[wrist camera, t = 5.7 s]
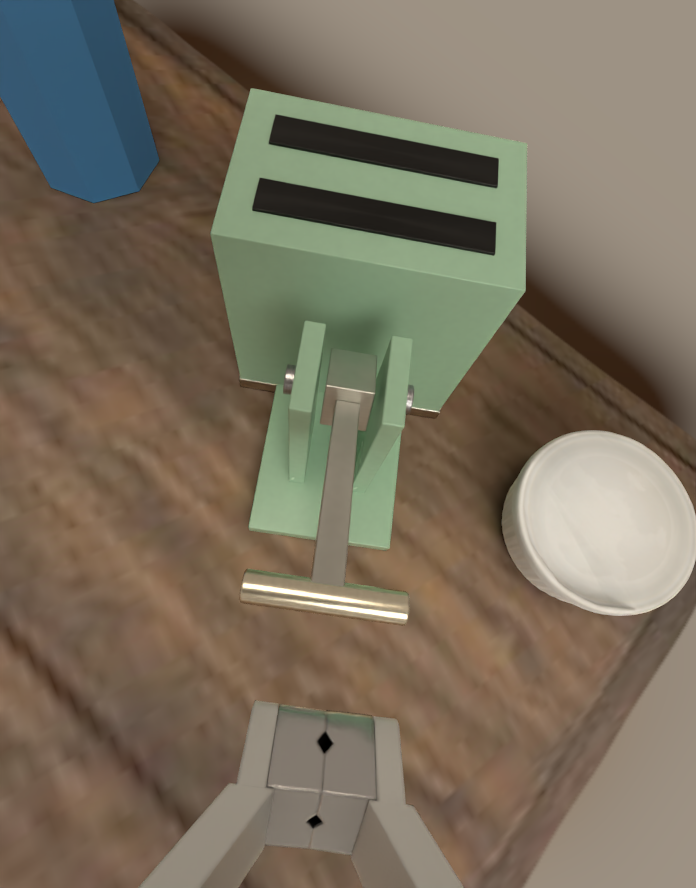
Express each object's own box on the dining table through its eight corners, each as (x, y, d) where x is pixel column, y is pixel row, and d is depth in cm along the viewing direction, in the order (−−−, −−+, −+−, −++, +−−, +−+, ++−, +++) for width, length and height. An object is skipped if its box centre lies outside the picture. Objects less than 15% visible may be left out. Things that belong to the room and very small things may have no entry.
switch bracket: (386, 550, 33) (445, 510, 20) (249, 530, 32) (223, 476, 20) (401, 399, 36) (460, 286, 24) (279, 378, 36) (273, 252, 23)
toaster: (435, 418, 36) (529, 291, 22) (240, 386, 35) (206, 232, 21) (443, 311, 39) (530, 139, 25) (264, 279, 39) (248, 82, 24)
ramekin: (460, 563, 33) (490, 554, 28) (519, 427, 37) (555, 397, 32) (614, 648, 32) (673, 654, 27) (659, 500, 36) (718, 482, 31)
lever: (398, 639, 17) (415, 608, 15) (238, 617, 17) (238, 583, 15) (399, 398, 26) (410, 361, 24) (294, 380, 25) (298, 341, 23)
